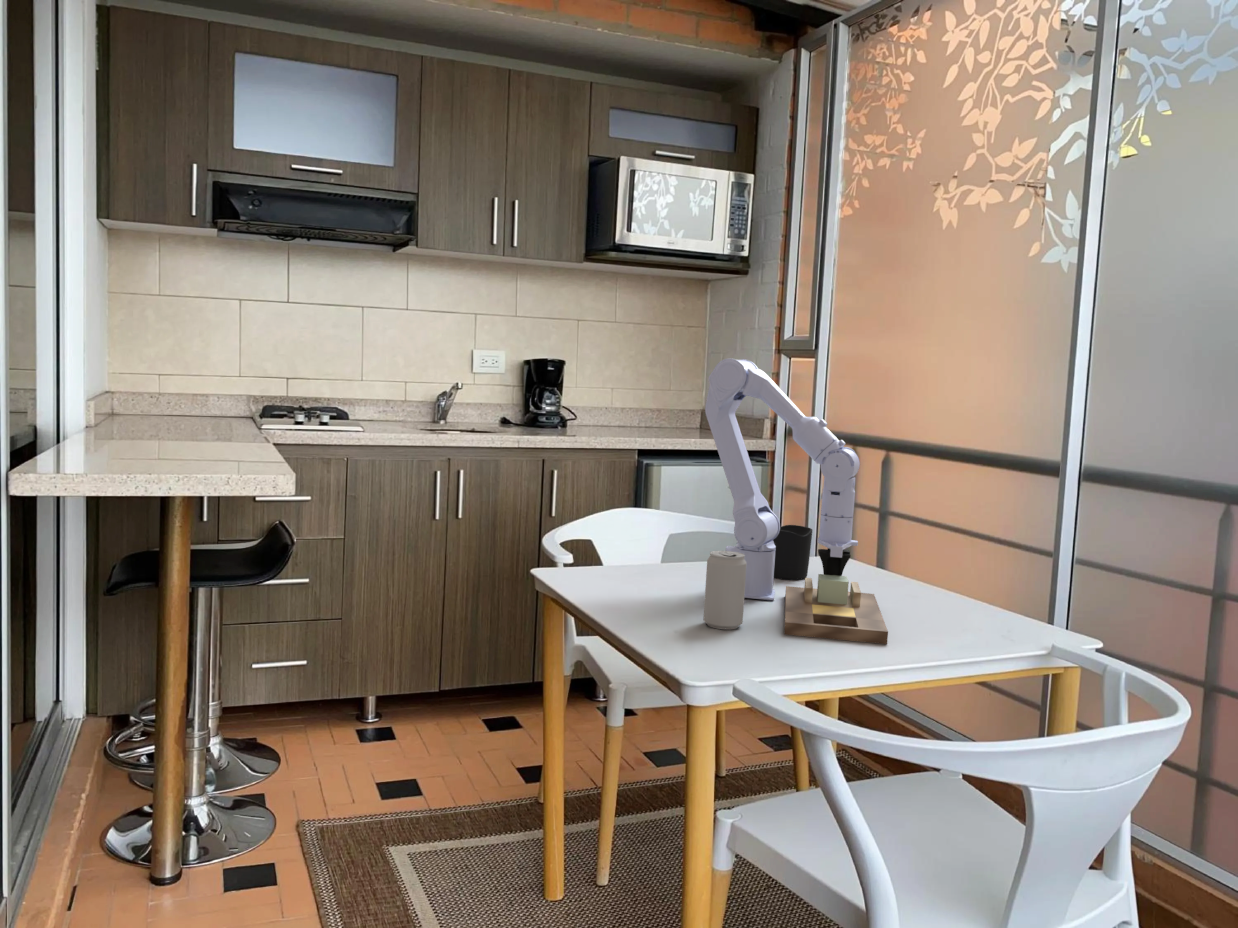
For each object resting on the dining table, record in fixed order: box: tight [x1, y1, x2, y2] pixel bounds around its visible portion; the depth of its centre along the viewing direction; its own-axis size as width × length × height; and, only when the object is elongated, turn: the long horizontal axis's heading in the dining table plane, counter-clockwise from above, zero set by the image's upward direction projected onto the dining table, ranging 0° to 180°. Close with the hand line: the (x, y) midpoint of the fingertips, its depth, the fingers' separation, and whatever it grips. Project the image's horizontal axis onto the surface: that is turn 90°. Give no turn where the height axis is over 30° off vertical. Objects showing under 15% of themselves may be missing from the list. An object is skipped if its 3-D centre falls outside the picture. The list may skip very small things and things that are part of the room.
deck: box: [783, 577, 889, 645], centre depth 178 cm, size 16×28×4 cm, turn 171°
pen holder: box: [773, 524, 813, 581], centre depth 212 cm, size 9×9×10 cm
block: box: [816, 573, 849, 605], centre depth 183 cm, size 5×5×4 cm
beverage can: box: [703, 550, 747, 631], centre depth 169 cm, size 6×6×12 cm
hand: (831, 589), depth 187 cm, fingers closed
